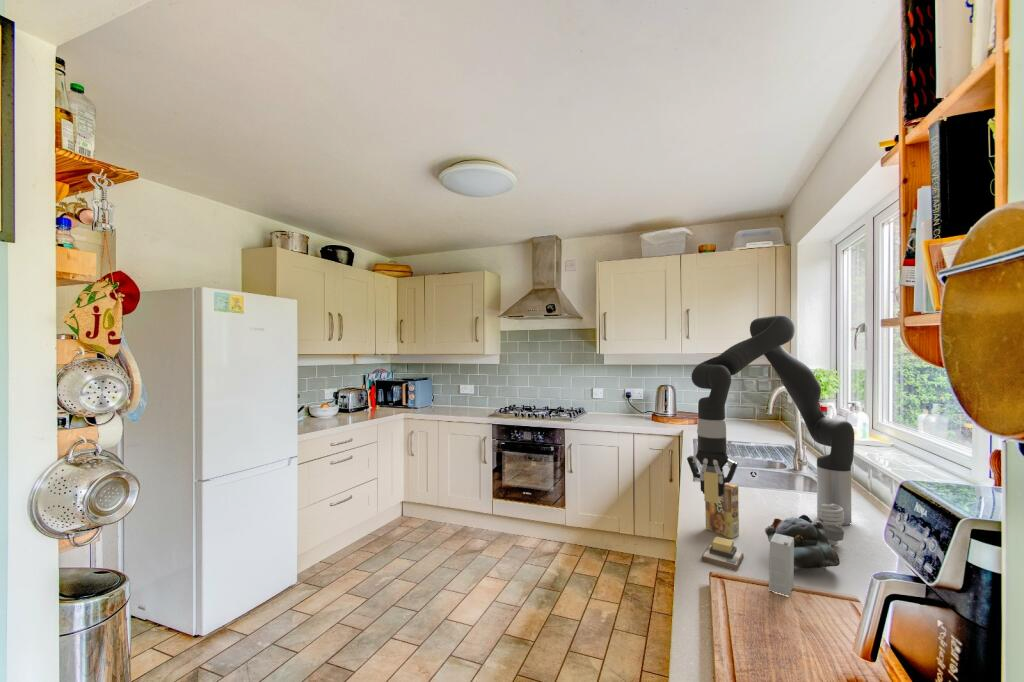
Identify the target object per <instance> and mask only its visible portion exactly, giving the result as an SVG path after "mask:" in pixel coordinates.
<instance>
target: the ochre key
mask: <svg viewBox="0 0 1024 682" xmlns="http://www.w3.org/2000/svg"><path fill="white" fill-rule="evenodd" d="M734 542H735V541H734V540H733V539H730V538H729V539H727V538H724V537H721V536H715V538H714V539H713V541H712V545H713V549H714V550H718V551H722V552H726V553H729V554H731V552H732V550H733V548H734V547H735V543H734Z"/></svg>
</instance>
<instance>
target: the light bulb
mask: <svg viewBox="0 0 1024 682" xmlns="http://www.w3.org/2000/svg"><path fill="white" fill-rule="evenodd" d="M821 507H823V508H821V511H823V512H820V514H821V515H823V516H821V519H823V520H827V521H836V522H826V521H822V524H823V527H824V531H825V534H826V536H827V538H828V542H829V545H830V546H831V547H835V546H837V545H838V544H839V543H838V542H842V541H843V540H844V537H845V536H844V534H845V532H844V528H842V526H843V525H842V524H843V523H844V520H843V519H844V512H843V508H842V507H840V506H838V505H836V504H830V505H827V504H822V505H821ZM828 508H833V509H836V510H832V509H828ZM840 512H841V513H840ZM833 513H836V514H833ZM833 517H836V518H833Z"/></svg>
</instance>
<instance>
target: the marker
mask: <svg viewBox="0 0 1024 682" xmlns="http://www.w3.org/2000/svg"><path fill="white" fill-rule="evenodd" d="M718 484H719V481H718V473H716V471H715V467H713V466H707V469H706V472H705V471H704V494H703V495H704V502H705V501H707V502H712V503H717V504H718V503H719V502H720V501H721V497H719V491H718Z"/></svg>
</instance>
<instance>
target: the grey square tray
mask: <svg viewBox="0 0 1024 682" xmlns="http://www.w3.org/2000/svg"><path fill="white" fill-rule="evenodd" d="M744 555H745V554H744V553H743V552H740V551H738V550H737V546H734V548H733V550H732V552H731V554H729V553H726V552H722V551H718V550H714V549H713V544H708V546H707V548H705V550H704V552H703V553H702V555H701V557H700V559H701V562H703V563H709V564H712V565H716V566H719V567H723V568H727V569H731V570H733V571H734V570H735V571H739V570H740V569H739V568H740V566H741V564H742V562H743V560H744V558H745V557H744Z"/></svg>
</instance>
